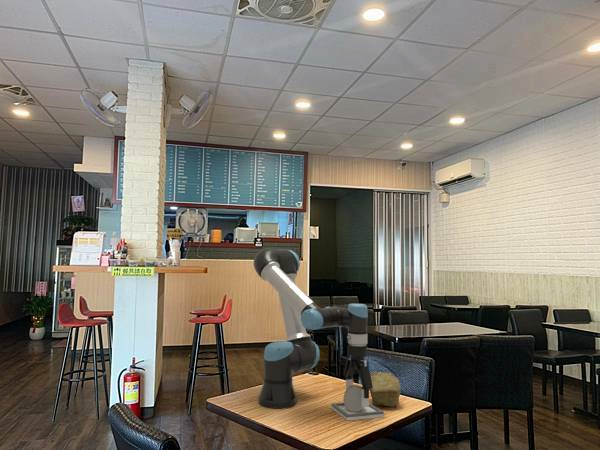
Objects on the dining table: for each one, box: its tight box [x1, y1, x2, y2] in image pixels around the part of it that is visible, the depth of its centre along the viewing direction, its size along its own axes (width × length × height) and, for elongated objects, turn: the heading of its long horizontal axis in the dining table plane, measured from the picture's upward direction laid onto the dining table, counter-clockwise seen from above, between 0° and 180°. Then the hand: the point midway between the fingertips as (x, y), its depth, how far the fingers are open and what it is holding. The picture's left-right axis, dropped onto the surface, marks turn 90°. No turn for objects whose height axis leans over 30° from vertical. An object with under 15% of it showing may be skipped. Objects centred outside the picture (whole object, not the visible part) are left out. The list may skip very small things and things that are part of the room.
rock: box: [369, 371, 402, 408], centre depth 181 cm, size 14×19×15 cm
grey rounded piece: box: [343, 384, 364, 412], centre depth 168 cm, size 10×10×10 cm
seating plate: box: [330, 401, 385, 422], centre depth 168 cm, size 15×15×2 cm
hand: (357, 401), depth 169 cm, fingers open, 13 cm apart
